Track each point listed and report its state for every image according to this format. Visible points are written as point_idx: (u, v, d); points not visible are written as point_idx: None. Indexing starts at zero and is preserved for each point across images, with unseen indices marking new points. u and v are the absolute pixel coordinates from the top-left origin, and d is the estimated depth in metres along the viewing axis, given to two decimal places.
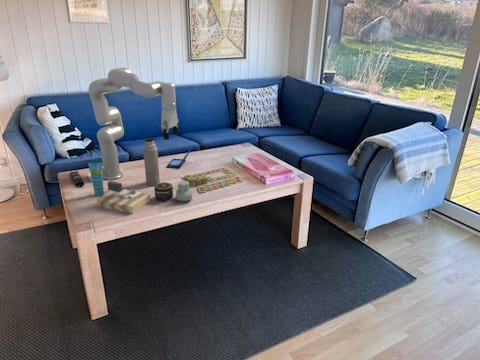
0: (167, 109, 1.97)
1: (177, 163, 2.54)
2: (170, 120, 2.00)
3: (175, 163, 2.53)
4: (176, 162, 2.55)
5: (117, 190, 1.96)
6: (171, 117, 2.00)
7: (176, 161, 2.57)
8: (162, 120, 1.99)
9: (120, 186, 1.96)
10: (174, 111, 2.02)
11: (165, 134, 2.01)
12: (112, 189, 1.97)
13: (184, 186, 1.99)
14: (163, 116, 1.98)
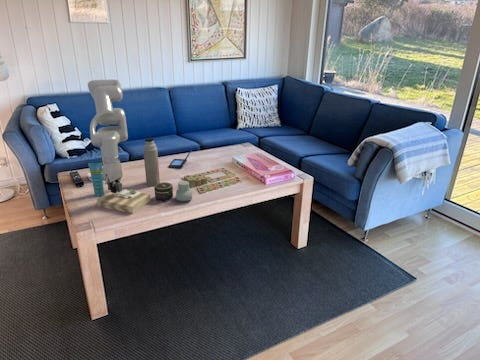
0: (108, 162, 1.88)
1: (178, 163, 2.53)
2: (112, 173, 1.90)
3: (176, 163, 2.53)
4: (177, 162, 2.55)
5: (117, 190, 1.96)
6: (113, 170, 1.90)
7: (177, 161, 2.57)
8: (104, 173, 1.90)
9: (120, 186, 1.96)
10: (117, 163, 1.92)
11: (112, 188, 1.95)
12: None
13: (184, 186, 1.99)
14: (104, 170, 1.89)
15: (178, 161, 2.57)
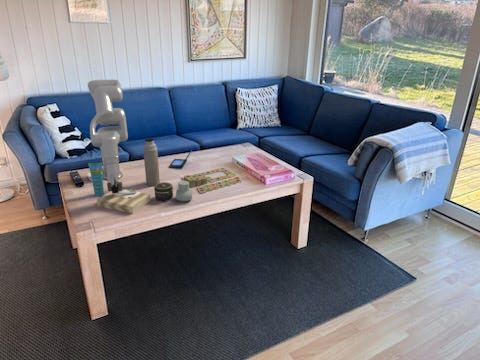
0: (113, 162, 1.88)
1: (179, 163, 2.53)
2: (117, 173, 1.91)
3: (177, 163, 2.53)
4: (178, 162, 2.55)
5: (119, 189, 1.97)
6: (117, 169, 1.92)
7: (178, 161, 2.57)
8: (108, 175, 1.89)
9: (121, 185, 1.97)
10: None
11: (114, 188, 1.95)
12: None
13: (184, 186, 1.99)
14: (109, 170, 1.88)
15: (178, 161, 2.57)
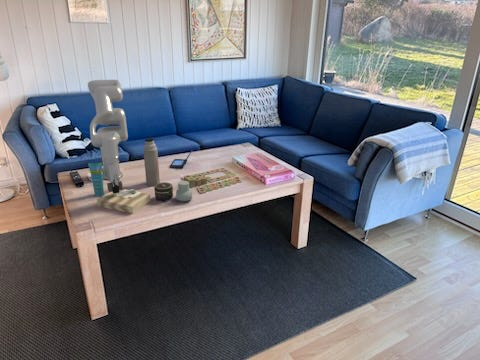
0: (115, 162, 1.89)
1: (179, 163, 2.53)
2: (118, 172, 1.92)
3: (177, 163, 2.53)
4: (178, 162, 2.55)
5: (120, 188, 1.98)
6: None
7: (178, 161, 2.57)
8: (111, 175, 1.89)
9: (121, 184, 1.99)
10: None
11: (116, 188, 1.95)
12: None
13: (184, 186, 1.99)
14: (112, 170, 1.89)
15: (179, 161, 2.57)
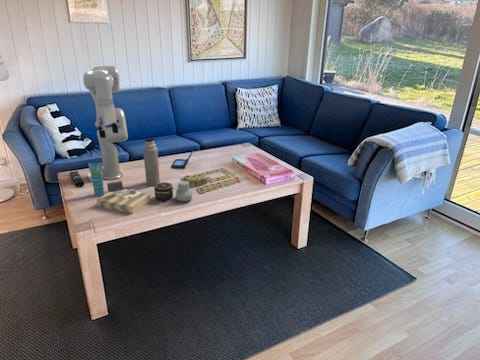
0: (102, 105, 1.80)
1: (181, 163, 2.53)
2: (106, 117, 1.82)
3: (179, 163, 2.53)
4: (180, 162, 2.55)
5: (120, 188, 1.98)
6: (107, 113, 1.83)
7: (179, 161, 2.57)
8: (97, 117, 1.82)
9: (121, 184, 1.99)
10: (111, 107, 1.84)
11: (101, 132, 1.84)
12: (114, 190, 1.96)
13: (184, 186, 1.99)
14: (98, 112, 1.81)
15: (180, 161, 2.57)
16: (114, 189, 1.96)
